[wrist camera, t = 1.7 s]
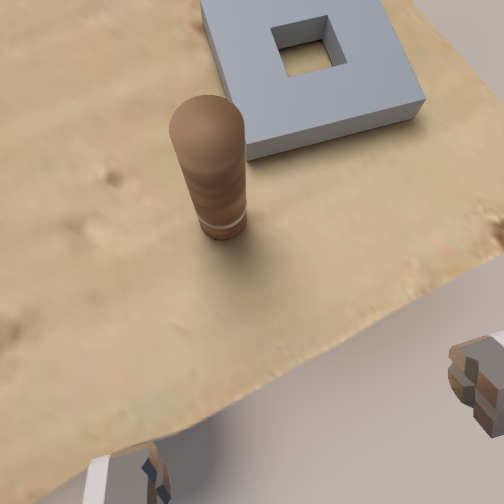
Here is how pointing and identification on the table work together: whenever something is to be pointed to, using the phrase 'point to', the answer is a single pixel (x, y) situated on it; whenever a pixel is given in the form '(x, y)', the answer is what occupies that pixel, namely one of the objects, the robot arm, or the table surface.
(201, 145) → the peg
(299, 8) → the socket board
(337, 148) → the table surface
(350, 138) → the table surface
